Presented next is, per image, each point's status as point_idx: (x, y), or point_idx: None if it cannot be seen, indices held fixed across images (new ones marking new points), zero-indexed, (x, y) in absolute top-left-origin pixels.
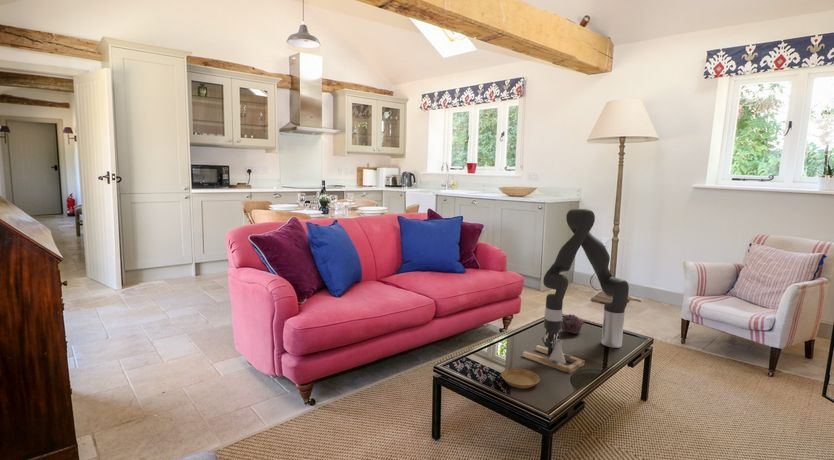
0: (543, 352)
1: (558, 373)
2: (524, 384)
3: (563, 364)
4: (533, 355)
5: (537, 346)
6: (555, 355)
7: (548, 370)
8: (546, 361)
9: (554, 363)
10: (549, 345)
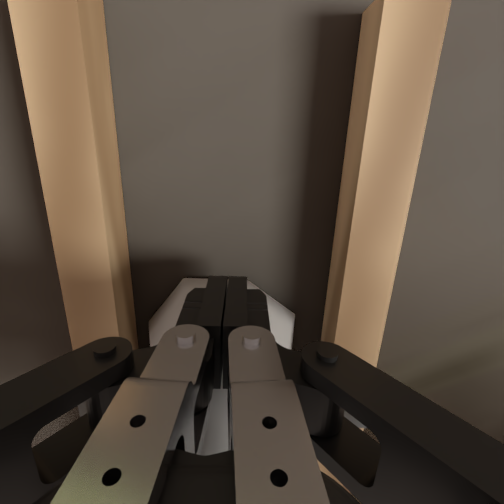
0: (347, 136)
1: (43, 430)
2: None
3: None
4: (47, 163)
5: (386, 17)
6: None
7: (15, 366)
8: (73, 325)
9: (84, 401)
10: (46, 462)
